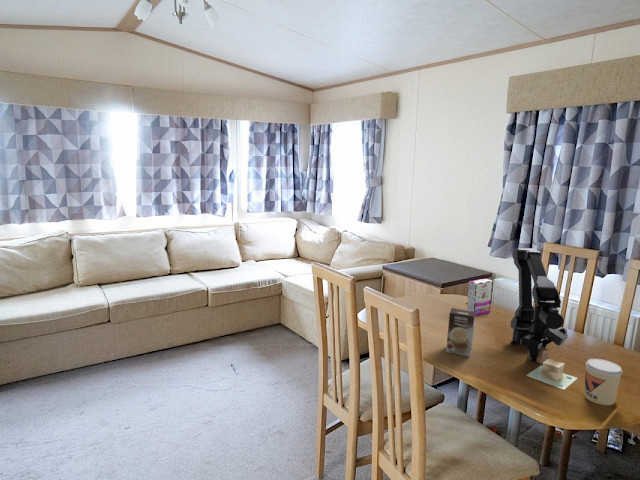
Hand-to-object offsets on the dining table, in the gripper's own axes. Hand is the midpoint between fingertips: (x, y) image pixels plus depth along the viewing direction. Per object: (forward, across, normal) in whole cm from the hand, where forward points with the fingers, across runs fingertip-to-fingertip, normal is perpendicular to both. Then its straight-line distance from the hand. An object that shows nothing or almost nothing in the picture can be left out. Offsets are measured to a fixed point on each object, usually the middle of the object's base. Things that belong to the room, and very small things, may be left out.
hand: (537, 359), depth 161 cm
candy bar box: (+1, +32, +41) cm, 52 cm away
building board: (+1, -10, -9) cm, 13 cm away
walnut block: (+1, 0, 0) cm, 1 cm away
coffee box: (+1, -15, +23) cm, 27 cm away
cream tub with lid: (+1, -13, -24) cm, 27 cm away
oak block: (0, -10, -9) cm, 13 cm away
